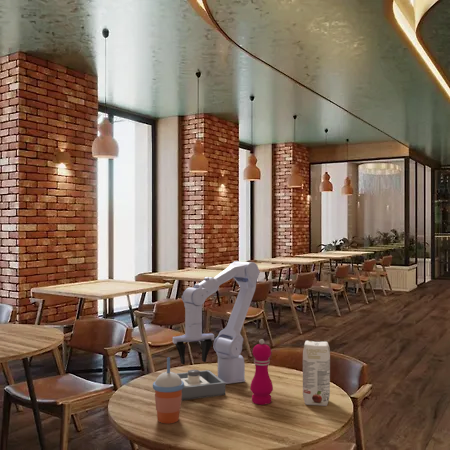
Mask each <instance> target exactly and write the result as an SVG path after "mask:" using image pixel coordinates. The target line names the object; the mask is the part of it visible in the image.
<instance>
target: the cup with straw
mask: <svg viewBox="0 0 450 450" xmlns="http://www.w3.org/2000/svg"><path fill="white" fill-rule="evenodd" d="M183 388H184V382H183V381H182V380H181V378H180V377H179V375H177V373H176V372H173V371H171V357H170V356H169V357H166V371H164V372H162V373H160V374H159V375H158V376H157V377H156V379H155V381H153V383H152V389H153V390H154V401H155V402H154V403H155V410H156V416H157V417H156V418H157V421H158V422H159V423H160V422H161V424H166V425H167V424H168V425H169V424H174V423H176V422H178V421H179V420H180V413H181V408H182V401H181V399H182V393H181V392H182V389H183Z"/></svg>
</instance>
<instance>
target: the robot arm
mask: <svg viewBox="0 0 450 450" xmlns="http://www.w3.org/2000/svg"><path fill="white" fill-rule="evenodd" d="M259 276H260V270H259V267H258V263H256V262H254V261H240V260H234V261H233V262H231V263H230V264H229V265H228V267H226V268H224V270H222V271H221V272H219V273H218V274H216V275H215V276H214V277H213V276H205V277H204V278H203V280H202V281H200V282H199V283H195V284H194V286H193V287H187V288H186V289H184V291H183V292H182V295H181V300H182V302H183V305H184V308H185V309H184V311H185V312H184V313H185V314H184V318H185V319H184V321H185V322H184V323H185V324H184V329H185V330H184V331H185V333H184V334H182V335H177V336H172V338H171V339H172V341H171V342H172V343H173V344H174V345H175V347H176V348H175V349H177V352H178V354H179V358H180V364H182V365H185V363H186V360H185V359H186V356H185V355H186V345H185V343H190V342H200V343H201V361H202V362H203V363H206V362H207V358H208V354H209V351H210V349H211V347H212V346H213V349H214V350H213V351H215V352H216V355H217V377H219V378H220V379H221V380H222V381H224V382H225V385H228V384H236V383H237V384H238V383H245V382H246V380H245V376H246V375H245V373H246V371H245V369H246V368H245V367H246V365H245V359H244V357H243V355H241V353H242V350H243V342H244V338H243V336H242V334H241V331H242V328H243V326H244V322H245V319H246V317H247V315H248V312H249V308H250V305H251V302H252V300H253V297H254V295H255V293H256V289H257V281H258V279H259ZM231 279H234V281H235V282H236V283H237V285H238V286H239V291H238V294H237V296H236V299H235V302H234V305H233V308H232V310H231V312H230V316H229V318H228V321H227V324H226V326H225V327H224V328H222V330H220V331H218V332H219V333H218V335H217V337H215V334H213V333H203V304H205V301H206V300H207V298H208V297H210V296H211V295H213V294H214V293H216V292H218V290H219V286H221V285H223V284H224V283H227V282H228V281H229V280H231Z"/></svg>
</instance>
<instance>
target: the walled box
mask: <svg viewBox="0 0 450 450" xmlns="http://www.w3.org/2000/svg"><path fill="white" fill-rule="evenodd" d="M199 371H200V376H201V377H202V378H204V379H205V380H206V381H207V382H208V383H209V384H203V385H195V386H186V387H184V388H183V389H182V392H181V393H182V399H181V402H182V401H187V400H188V401H189V400H195V399H203V398H211V397H212V398H213V397H218V396H220V397H221V396H226V384H225V382H224V381H222V380H221V379H220V378H219V377H218V375H216V374H215V373H213V372H212V371H210V369H207V370H205V369H204V370H199ZM176 374H177V375H179V377H180V378H181V379H183V378H188V371H187V372H178V373H176Z"/></svg>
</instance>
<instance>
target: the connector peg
mask: <svg viewBox="0 0 450 450" xmlns="http://www.w3.org/2000/svg"><path fill="white" fill-rule="evenodd" d="M200 371H201V370H199V369H189V370H187V372H188V384H195V383H199V378H200Z"/></svg>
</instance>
